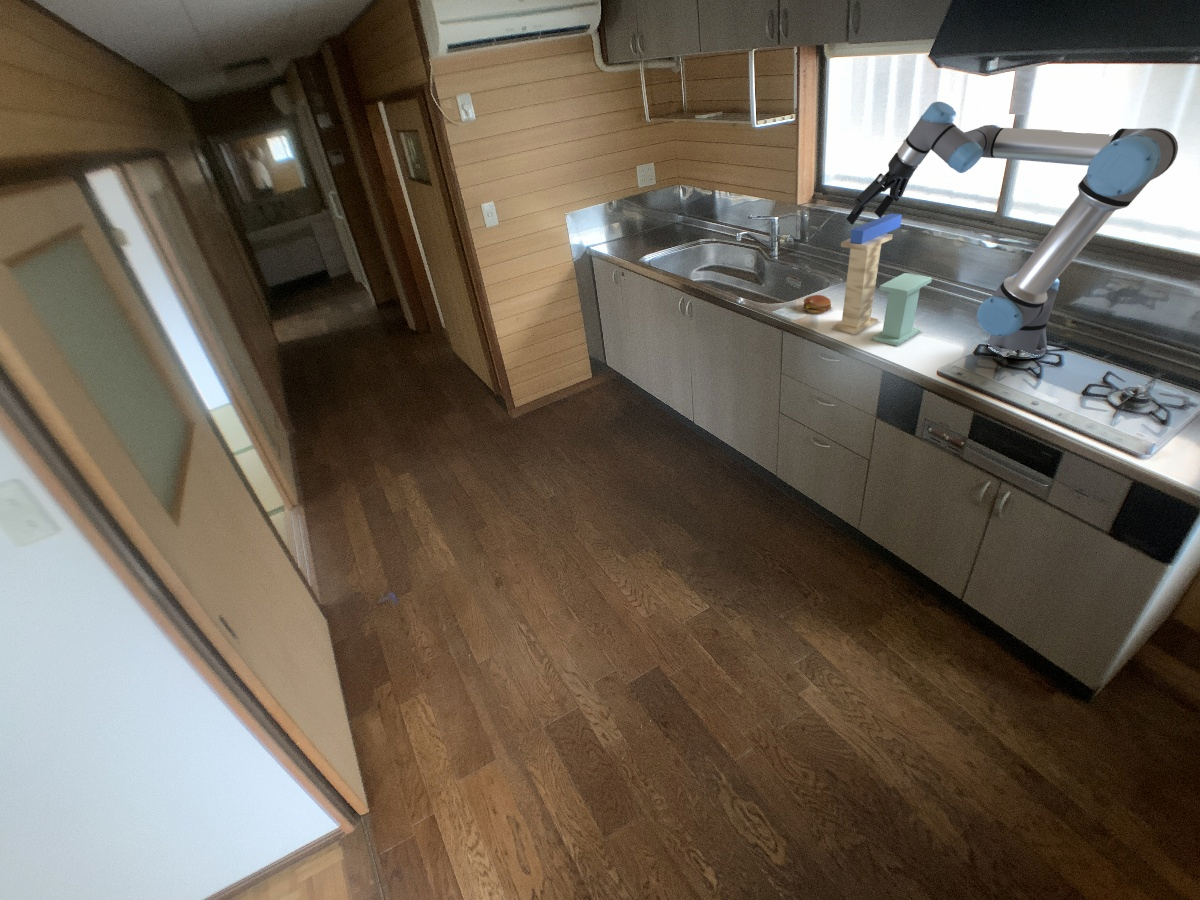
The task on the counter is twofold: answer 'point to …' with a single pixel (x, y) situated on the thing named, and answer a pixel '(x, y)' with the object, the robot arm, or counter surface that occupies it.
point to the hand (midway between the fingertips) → (863, 218)
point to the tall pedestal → (861, 284)
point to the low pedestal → (901, 308)
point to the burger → (817, 304)
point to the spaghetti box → (875, 228)
